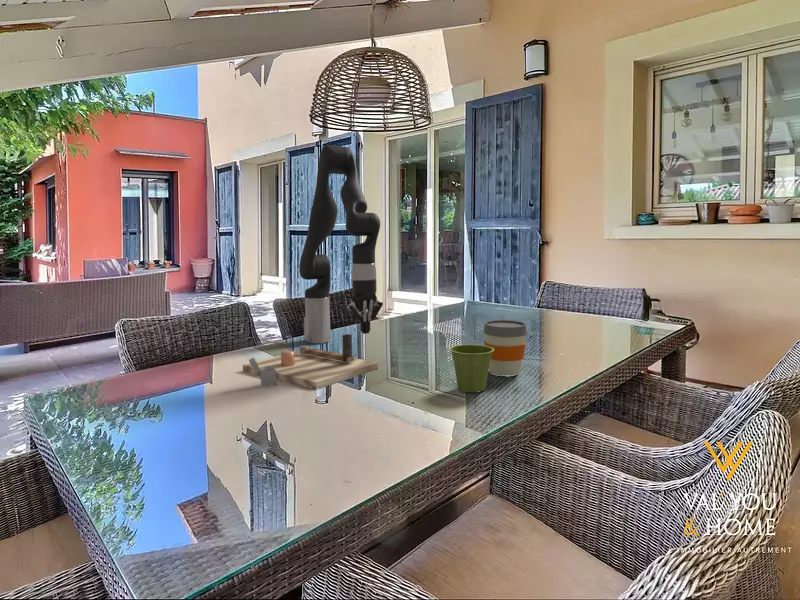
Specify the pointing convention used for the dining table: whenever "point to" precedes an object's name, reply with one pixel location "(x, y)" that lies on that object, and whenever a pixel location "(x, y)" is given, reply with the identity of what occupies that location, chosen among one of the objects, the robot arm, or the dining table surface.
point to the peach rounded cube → (287, 358)
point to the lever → (331, 355)
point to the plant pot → (471, 366)
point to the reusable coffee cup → (505, 345)
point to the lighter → (265, 373)
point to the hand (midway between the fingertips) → (365, 333)
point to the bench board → (314, 369)
